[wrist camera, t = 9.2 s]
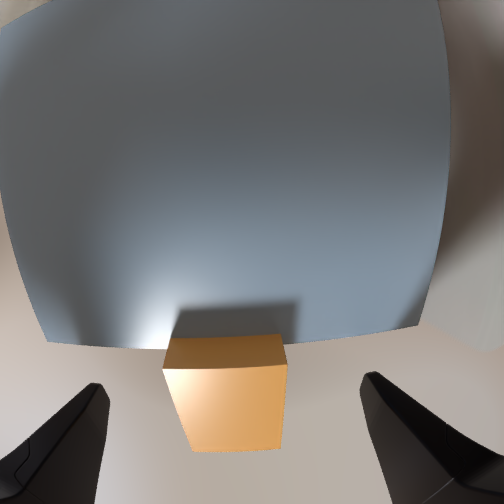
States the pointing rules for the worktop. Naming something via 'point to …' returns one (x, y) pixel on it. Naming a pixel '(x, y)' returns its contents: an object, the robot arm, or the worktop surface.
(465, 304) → the worktop surface
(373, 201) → the lid
